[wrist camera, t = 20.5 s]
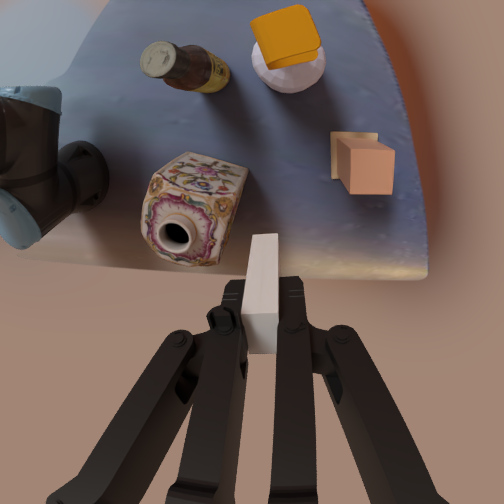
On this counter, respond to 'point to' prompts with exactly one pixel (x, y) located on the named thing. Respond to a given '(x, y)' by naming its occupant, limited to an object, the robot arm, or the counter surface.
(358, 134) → the post
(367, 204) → the counter surface
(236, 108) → the counter surface
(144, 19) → the counter surface
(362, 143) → the peach block
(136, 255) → the counter surface
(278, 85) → the soap bottle
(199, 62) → the sauce bottle
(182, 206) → the decorative jar
